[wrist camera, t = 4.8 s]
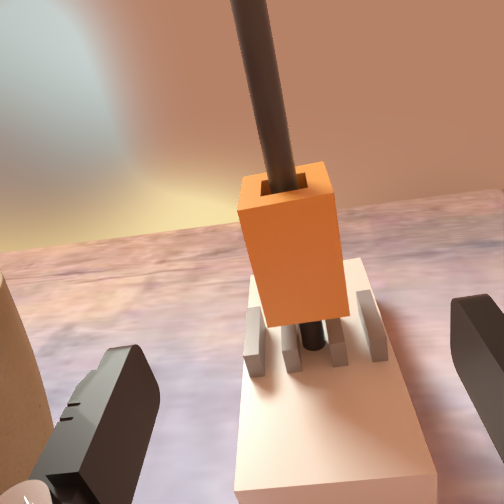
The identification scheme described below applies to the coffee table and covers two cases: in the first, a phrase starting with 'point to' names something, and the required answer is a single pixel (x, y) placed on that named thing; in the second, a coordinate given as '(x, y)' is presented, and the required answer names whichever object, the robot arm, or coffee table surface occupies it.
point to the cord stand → (319, 362)
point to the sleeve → (295, 247)
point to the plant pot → (19, 398)
